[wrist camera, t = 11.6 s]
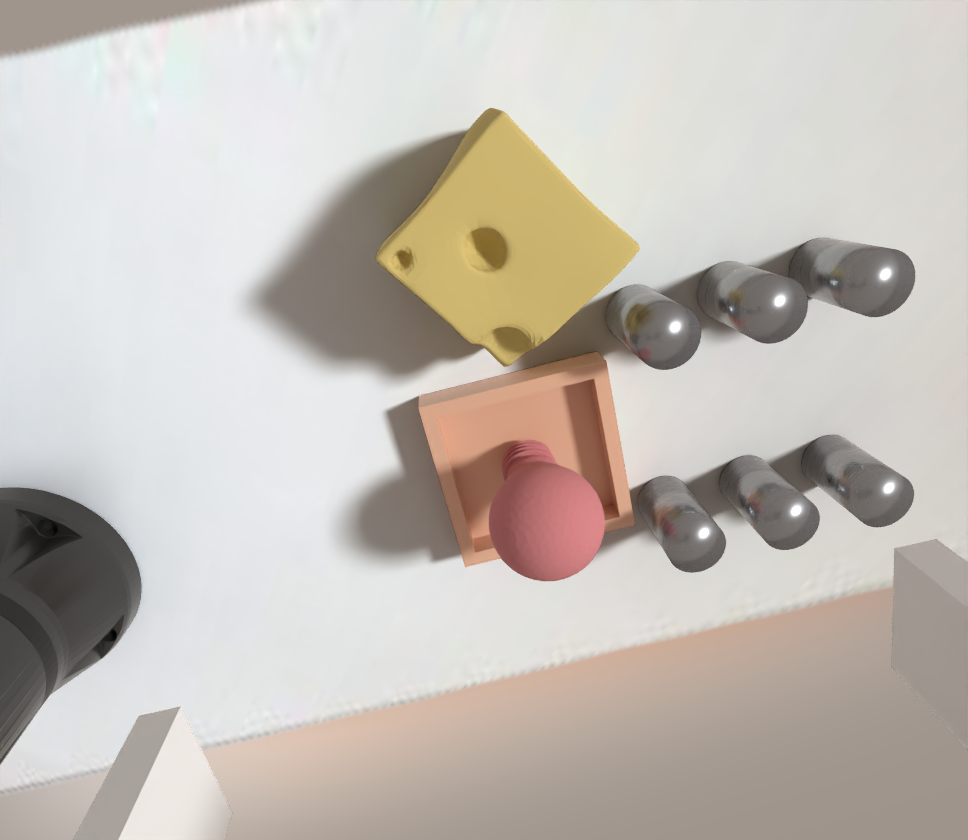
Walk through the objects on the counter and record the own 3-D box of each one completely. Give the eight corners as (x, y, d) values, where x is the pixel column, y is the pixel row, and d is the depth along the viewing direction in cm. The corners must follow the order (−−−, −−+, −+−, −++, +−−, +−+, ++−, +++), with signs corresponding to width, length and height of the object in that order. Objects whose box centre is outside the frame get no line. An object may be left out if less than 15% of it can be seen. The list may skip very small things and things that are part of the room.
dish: (463, 548, 51) (465, 567, 49) (419, 395, 47) (418, 408, 44) (625, 508, 51) (635, 525, 49) (597, 351, 46) (606, 361, 44)
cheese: (495, 345, 46) (511, 390, 36) (375, 237, 43) (360, 256, 33) (603, 232, 44) (649, 249, 34) (485, 109, 40) (501, 90, 31)
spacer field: (641, 526, 52) (671, 578, 45) (601, 292, 45) (630, 313, 38) (852, 475, 51) (913, 519, 45) (844, 231, 45) (915, 241, 38)
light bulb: (586, 486, 49) (627, 588, 38) (495, 510, 50) (510, 618, 39) (565, 402, 46) (604, 488, 36) (469, 429, 47) (478, 521, 36)
